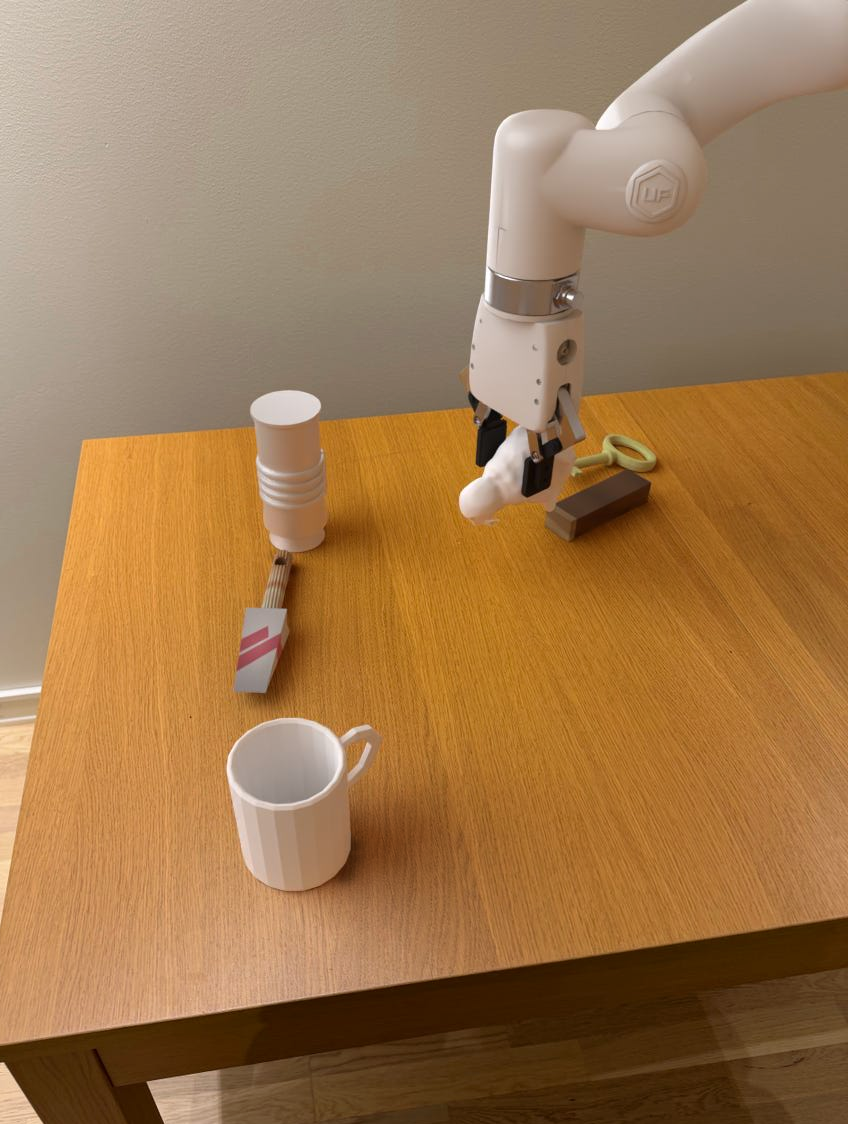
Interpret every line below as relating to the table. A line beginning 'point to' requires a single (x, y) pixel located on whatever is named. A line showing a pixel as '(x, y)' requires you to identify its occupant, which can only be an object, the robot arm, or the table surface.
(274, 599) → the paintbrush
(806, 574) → the table surface
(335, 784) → the mug
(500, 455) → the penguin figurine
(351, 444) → the table surface
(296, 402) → the white ribbed cylinder
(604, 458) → the key
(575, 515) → the walnut bar
